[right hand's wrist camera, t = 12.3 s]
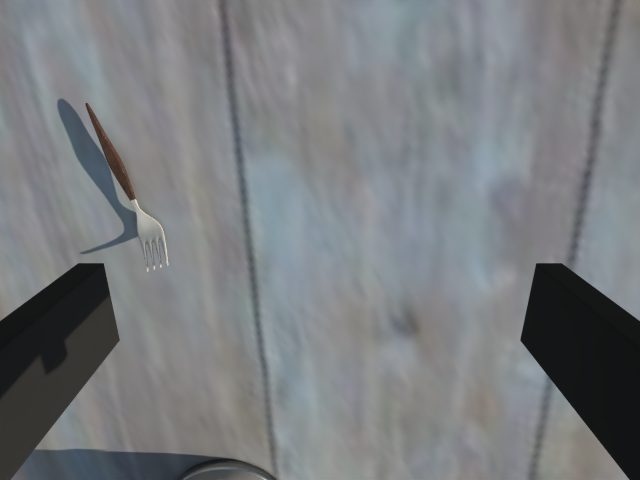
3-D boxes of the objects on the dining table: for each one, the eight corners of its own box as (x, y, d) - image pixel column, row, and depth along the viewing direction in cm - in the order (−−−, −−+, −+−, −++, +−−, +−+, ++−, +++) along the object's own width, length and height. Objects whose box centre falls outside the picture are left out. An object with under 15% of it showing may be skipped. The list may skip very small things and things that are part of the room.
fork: (102, 98, 36) (91, 99, 34) (176, 257, 41) (169, 265, 39) (76, 107, 36) (63, 108, 34) (153, 264, 42) (145, 272, 40)
